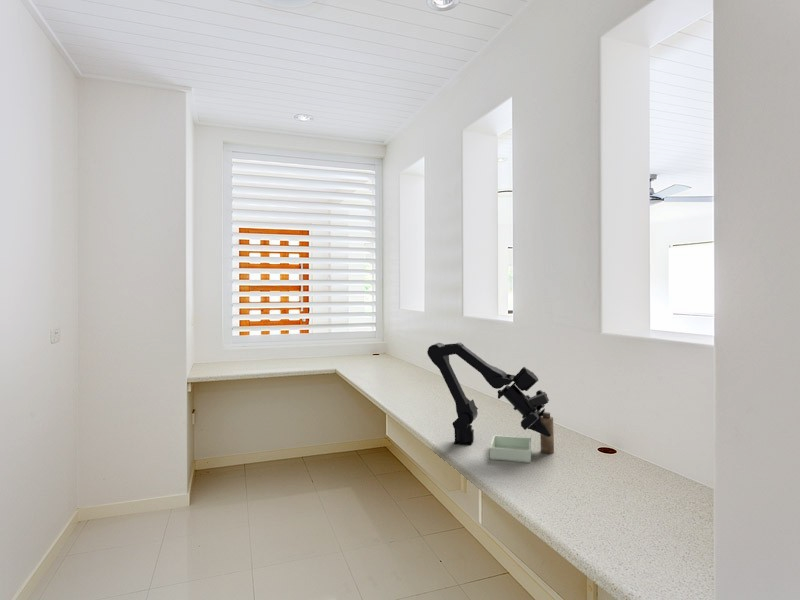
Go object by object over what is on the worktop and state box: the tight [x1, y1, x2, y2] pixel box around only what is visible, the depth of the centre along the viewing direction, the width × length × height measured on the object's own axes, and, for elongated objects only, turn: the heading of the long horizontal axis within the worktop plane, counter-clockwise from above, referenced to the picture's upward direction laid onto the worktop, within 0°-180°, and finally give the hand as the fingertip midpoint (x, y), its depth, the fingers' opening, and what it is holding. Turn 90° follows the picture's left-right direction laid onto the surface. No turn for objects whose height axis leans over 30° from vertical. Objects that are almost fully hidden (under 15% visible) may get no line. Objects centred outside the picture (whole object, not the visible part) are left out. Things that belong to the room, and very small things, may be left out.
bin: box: [489, 434, 532, 464], centre depth 158 cm, size 13×13×4 cm
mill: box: [539, 411, 555, 455], centre depth 159 cm, size 4×4×14 cm
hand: (551, 433), depth 159 cm, fingers open, 6 cm apart
